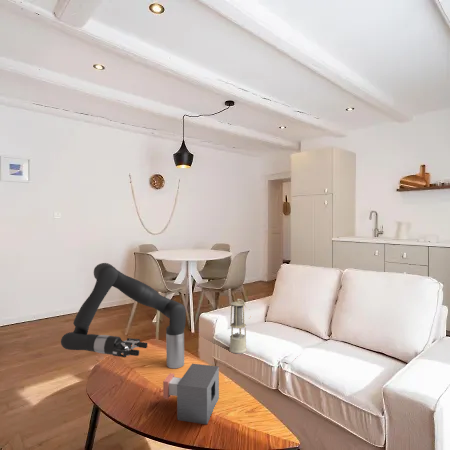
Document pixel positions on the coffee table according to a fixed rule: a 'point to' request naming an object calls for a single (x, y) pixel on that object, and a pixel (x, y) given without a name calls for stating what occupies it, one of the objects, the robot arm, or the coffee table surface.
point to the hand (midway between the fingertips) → (143, 349)
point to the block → (198, 393)
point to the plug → (170, 386)
